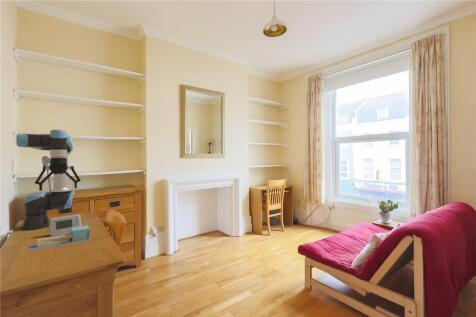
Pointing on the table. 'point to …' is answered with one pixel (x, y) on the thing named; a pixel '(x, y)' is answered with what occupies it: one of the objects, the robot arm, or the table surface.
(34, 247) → the mat
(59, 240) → the slat
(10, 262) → the table surface
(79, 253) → the table surface
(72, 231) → the end cap
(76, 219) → the digital clock
